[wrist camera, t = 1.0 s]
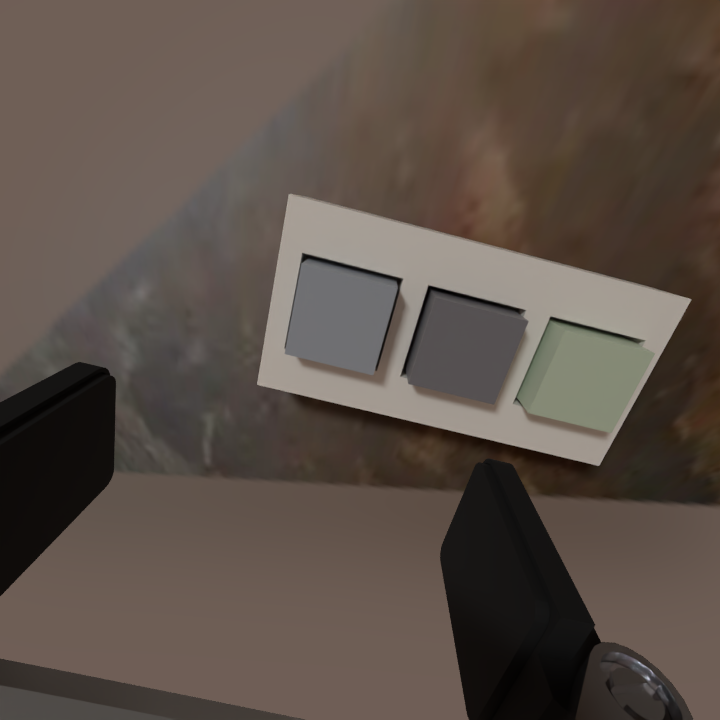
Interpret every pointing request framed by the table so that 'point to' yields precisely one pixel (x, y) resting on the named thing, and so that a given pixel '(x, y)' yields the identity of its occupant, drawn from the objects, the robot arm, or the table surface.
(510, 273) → the keypad
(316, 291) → the slate key
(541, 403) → the sage key
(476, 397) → the charcoal key
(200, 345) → the table surface
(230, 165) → the table surface
